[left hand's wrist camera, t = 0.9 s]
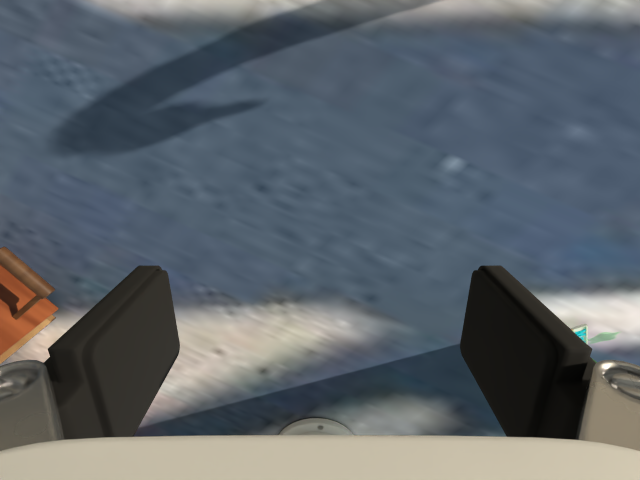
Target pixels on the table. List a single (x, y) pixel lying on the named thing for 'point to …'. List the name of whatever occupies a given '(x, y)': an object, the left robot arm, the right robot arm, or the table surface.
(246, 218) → the table surface
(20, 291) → the drawer
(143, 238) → the table surface
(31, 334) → the cabinet
